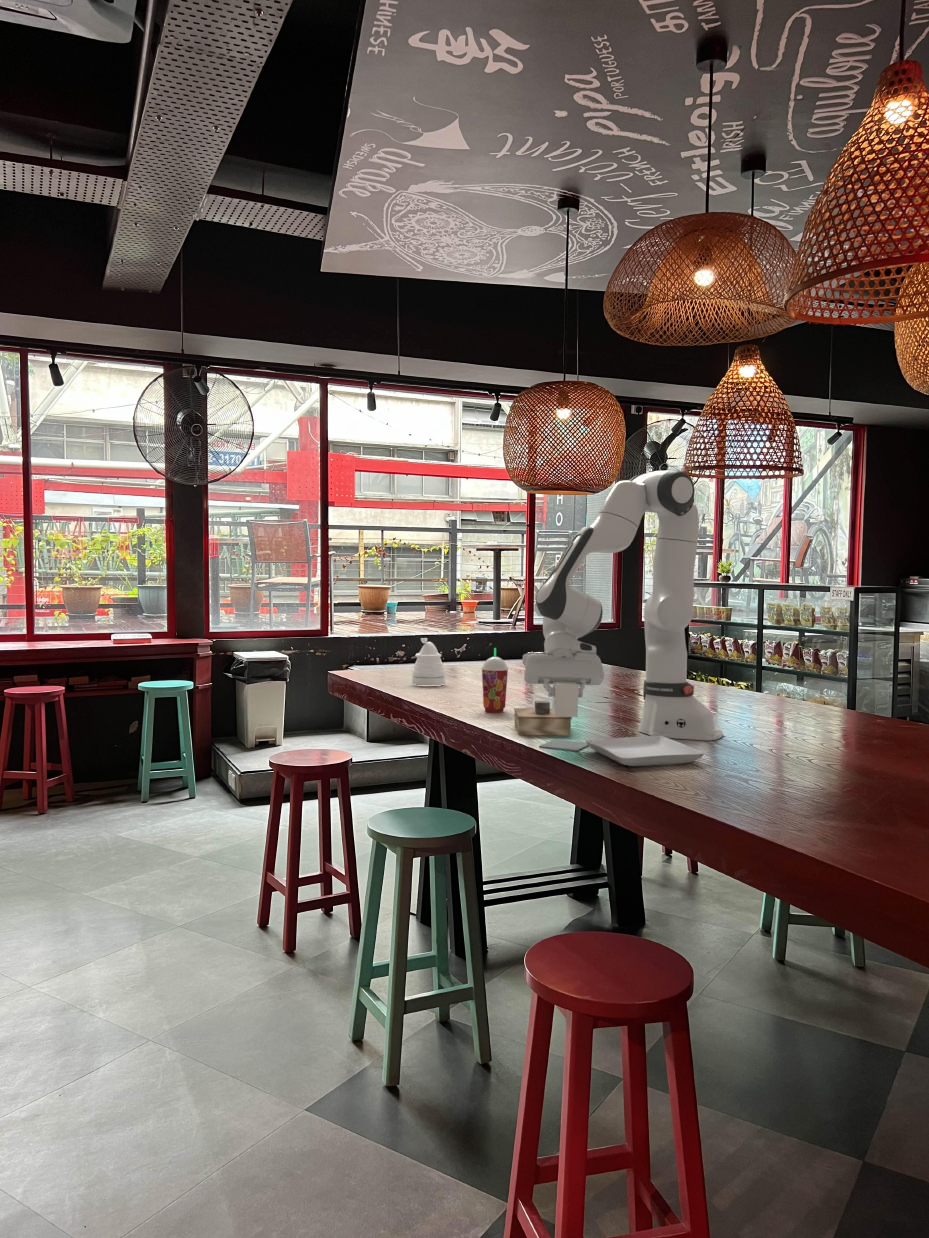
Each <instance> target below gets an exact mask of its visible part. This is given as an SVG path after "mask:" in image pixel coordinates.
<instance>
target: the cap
mask: <svg viewBox="0 0 929 1238" xmlns="http://www.w3.org/2000/svg"><path fill="white" fill-rule="evenodd" d="M552 686H553V687H552V688H555V695H554V697H552V708H551V709H552V713H553V714H554V716H556V717H572V718H578V716H579V715H578V713H579V711H578V710H579V709H578V708H579V697H578V688H580V686H579V685H578V684H577V683H576V682H553V684H552Z"/></svg>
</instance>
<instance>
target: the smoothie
mask: <svg viewBox="0 0 929 1238" xmlns="http://www.w3.org/2000/svg"><path fill="white" fill-rule="evenodd" d="M508 674H509V668H508V665H507V664H506V662H505V660H504V659H502V658H501V657H500V656H497V647H494V648H493V656H491V657H489V658H487V659H486V660H485V662H484V663H483V666H482V667H481V680H482V699H483V702H482V704H483V708H484V711H485V712H486V713H493V714H494V713H495V714H499V713H503V712H504V709H505V708H506V702H507V701H506V699H507V687H508V676H509V675H508Z"/></svg>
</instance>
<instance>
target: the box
mask: <svg viewBox="0 0 929 1238" xmlns="http://www.w3.org/2000/svg"><path fill="white" fill-rule="evenodd" d="M513 711H514V727H515V730H516V732H517V735H518V736H571V725H572V723H571V722H572V718H573V717H556V716H554V714H553V713H552V708H551V702H550V701H549V700H534V707H533V708H531V707H530V708H529V707H528V708H527V707H523V708H522V707H519V708H518V707H515V708H513Z"/></svg>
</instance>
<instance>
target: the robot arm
mask: <svg viewBox="0 0 929 1238" xmlns="http://www.w3.org/2000/svg"><path fill="white" fill-rule="evenodd" d="M695 490H696V489H695V484H694V481H693V479H692V477H691V476H690V475H689V473H687V472H685V471H681V470H678V469H677V470H676V469H671V470H670V469H669V470H663V469H662V470H654V471H651V472H650V471H649V472H646V473H645V472H644V473H639V474H637V475H634V476H633V477H631V478H630V479H627V480H625V479H624V480H620V481H617V482H616V483H615V484H614V485H613V486H612V488H611V489H610V490H609V493H608V494H607V495H606V497H605V499H604V501H603V502H602V504H601V507H600V509H599V511H598V514H597V515H596V518H595V519H594V521H593V522H592V523H591V524H590V525H588V526H583V527H581V528H580V530H578V532H577V533H576V534H575V535H574V537H573V538H572V540H571V542H569V544H568V546H567V547H566V549H565V550H564V553H562V555H561V557H560V559H559V561H557V564H556V565H555V567H554V568H553V570H552V572H551V573H550V575H549V576H548V578H546V579H545V581H544V582H543V583H542V584H541V586H540V588H539V589H538V591H537V593H536V596H535V604H536V607H537V610H538V612H539V614H540V615H541V616H542V634H543V637H544V639H545V640H544V642H543V646H544V651H538V652H537V651H536V652H535V651H534V652H533V651H530V652H526V653H524V654H523V655H522V664H523V665H524V674H523V675H524V676H523V679H524V682H525V683H526V684H528V685H542V686H543V688H544V689H545V691H546V692H547V693H548V694H547V695H548V697H550V698H553V697H554V695H555V688H553V687H552V686H551V685H553V682H576V683H577V684H578V685H579V688H578V698H583V694H584V690H585V689H586V686H600V685H602V683H603V682H604V677H605V671H604V667H603V663H602V660H601V658H600V657H599V655H597V647H596V645H593V644H590V643H585V642H582V641H580V640H578V639H581V638H583V637H586V636H587V635H588V634H590V633H593V632H594V631H595V630H596V629H597V628H599V627H600V625H601V623H602V620H603V605H602V603H601V602H600V600H598V599H597V598H596V597H593V596H591V595H589V594H588V593H585V592H582V591H581V590H579V589H577V588H575V587H573V586H571V579H572V578H573V577H574V575H575V573H576V572H577V571H578V569H579V566H580V565H581V563H582V562H583V560H584V559H585V558H586V557H587V556H588V555H590V554H592V553H603V554H615V553H619V552H622V551H624V550H626V549H627V548H629V546H630V545H631V543H632V542H633V541H634V538H635V537H636V535H637V531H638V528H639V527H640V524H641V520H642V519H643V516H644V515H645V513H651V514H652V513H653V514H654V513H656V515H657V519H658V528H657V533H656V534H657V535H656V539H655V540H656V541H655V548H654V549H655V550H654V555H653V564H652V594H651V595H650V596H649V597H648V598H647V600H646V601H645V603H644V608H643V613H644V615H643V616H644V617H643V619H644V623H643V624H644V640H645V679H644V681H643V690H642V693H643V694H642V696H643V700H644V702H643V709H642V714H641V715H642V716H641V719H640V724H639V727H638V729H637V730H638V731H639V732H640V733H642V734H645V735H649V736H663V737H666V738H668V739H678V740H679V739H681V740H693V741H695V740H696V741H708V742H709V741H715V740H719V739H721V738H722V737H723V736H724V732H723V730H721V729H720V728H719V729H717V728H716V726H715V725H716V724H715V719H714V714H713V712H712V711H711V709H709V708H708V707H706V706H705V705H704V703H702V702H700V701H699V700H698V699H697V698H696V697H695V696H694V693H695V692H694V691H695V684H693V685H692V684H691V682H688V681H687V678H688V677H687V675H688V672H687V671H688V650H687V644H686V633H685V628H687V627H688V626H689V624H690V623H691V621H692V619H693V615H694V590H695V589H694V588H695V587H694V586H695V585H694V584H695V580H694V577H695V567H696V565H695V564H696V559H697V551H698V549H697V548H698V543H699V533H700V531H699V530H700V524H699V523H700V521H699V519H700V518H699V510H698V508H697V506H696V505H695V504H694V503H695V496H696V494H695V493H696V491H695Z"/></svg>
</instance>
